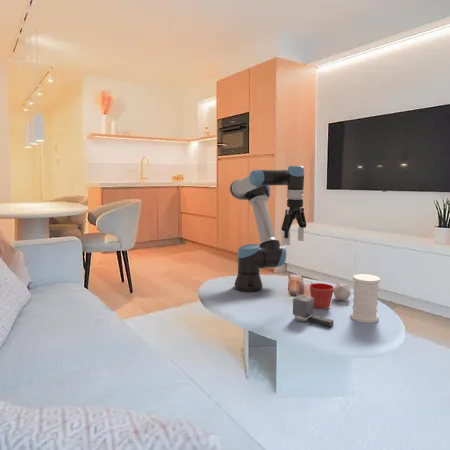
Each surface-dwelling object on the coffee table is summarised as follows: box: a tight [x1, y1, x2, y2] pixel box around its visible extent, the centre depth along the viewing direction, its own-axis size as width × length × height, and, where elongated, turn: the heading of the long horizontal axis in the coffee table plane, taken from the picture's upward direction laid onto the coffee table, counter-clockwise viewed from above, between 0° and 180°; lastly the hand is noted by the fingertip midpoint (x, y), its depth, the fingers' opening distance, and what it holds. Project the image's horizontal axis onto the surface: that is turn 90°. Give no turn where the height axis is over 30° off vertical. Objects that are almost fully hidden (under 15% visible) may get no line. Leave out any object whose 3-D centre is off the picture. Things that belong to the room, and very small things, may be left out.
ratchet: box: [294, 314, 334, 329], centre depth 162 cm, size 16×7×6 cm, turn 51°
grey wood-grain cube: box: [292, 294, 315, 318], centre depth 165 cm, size 6×6×7 cm
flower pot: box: [309, 282, 335, 310], centre depth 181 cm, size 11×11×10 cm
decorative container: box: [349, 273, 381, 324], centre depth 166 cm, size 12×12×18 cm
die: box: [333, 282, 352, 302], centre depth 190 cm, size 8×9×10 cm
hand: (293, 242), depth 187 cm, fingers open, 13 cm apart
